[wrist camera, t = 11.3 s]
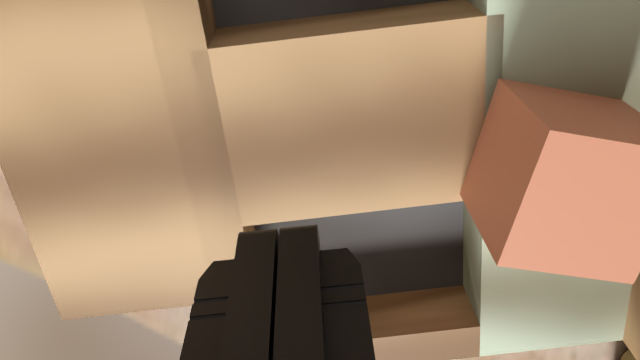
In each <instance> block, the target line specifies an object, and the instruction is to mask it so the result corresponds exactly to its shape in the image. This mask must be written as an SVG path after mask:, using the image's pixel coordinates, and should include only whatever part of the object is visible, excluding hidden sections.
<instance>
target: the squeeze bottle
mask: <svg viewBox="0 0 640 360" xmlns="http://www.w3.org/2000/svg"><path fill="white" fill-rule="evenodd" d="M620 360H636V359H635V357H634V356H633V354H632V353H631V352H630V350H629V349H628V350H627V351H626V352H625V353H624V354H623V355H622V357H621V359H620Z"/></svg>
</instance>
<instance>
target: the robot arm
mask: <svg viewBox="0 0 640 360" xmlns="http://www.w3.org/2000/svg"><path fill="white" fill-rule="evenodd" d="M180 360H376V359H375V352H374V346H373V339H372V333H371V326H370V320H369V313H368V307H367V301H366V294H365V287H364V281H363V274H362V268H361V263H360V262H359V261H358V260H357V259H356V257H355V256H354V255H353V254H352V253H351V252H350V251H349V249H348V248H341V249H331V250H321V249H320V241H319V232H318V226H317V225H307V226H297V227H287V228H280V230H279V233H278V230H277V229H268V230H258V231H248V232H239V234H238V239H237V245H236V252H235V258H234V259H231V260H220V261H213V262H212V263H211V265H210V266H209V267H208V268H207V270H206V271H205V272H204V273H203V274H202V276H201V277H200V278H199V279H198V283H197V287H196V292H195V296H194V304H192V309H191V313H190V321H189V322H188V326H187V330H186V334H185V339H184V343H183V347H182V352H181V356H180Z"/></svg>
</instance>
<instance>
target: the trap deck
mask: <svg viewBox="0 0 640 360" xmlns="http://www.w3.org/2000/svg"><path fill="white" fill-rule="evenodd" d="M498 78H500V79H506V80H511V81H517V82H523V83H529V84H534V85H540V86H546V87H551V88H557V89H563V90H568V91H574V92H580V93H585V94H591V95H597V96H602V97H608V98H614V99H620V100H623V101H624V102H626V103H627V104H628V105H630V106H631V107H633V108H634V109H636V110H637V111H638V112H640V0H0V166H1V169H2V171H3V174H4V176H5V179H6V181H7V184H8V186H9V189H10V191H11V194H12V196H13V199H14V201H15V204H16V206H17V209H18V211H19V214H20V216H21V219H22V221H23V224H24V226H25V229H26V231H27V234H28V236H29V239H30V241H31V244H32V246H33V249H34V251H35V254H36V256H37V259H38V261H39V264H40V266H41V269H42V271H43V274H44V276H45V279H46V281H47V284H48V286H49V289H50V291H51V294H52V296H53V299H54V301H55V304H56V306H57V309H58V311H59V314H60V316H61V319H62V320H67V319H76V318H84V317H93V316H102V315H110V314H119V313H128V312H137V311H146V310H155V309H163V308H172V307H181V306H190V305H192V304H194V296H195V292H196V287H197V283H198V279H199V278H200V277H201V276H202V274H203V273H204V272H205V271H206V270H207V268H208V267H209V266H210V265H211V263H212V262H213V261H220V260H231V259H234V258H235V252H236V245H237V239H238V234H239V232H248V231H258V230H268V229H277V230H278V233H279V230H280V228H287V227H297V226H307V225H317V226H318V232H319V241H320V249H321V250H331V249H341V248H348V249H349V251H350V252H351V253H352V254H353V255H354V256H355V257H356V259H357V260H358V261H359V262H360V263H361V268H362V274H363V281H364V287H365V294H366V301H367V307H368V313H369V320H370V326H371V333H372V339H373V346H374V352H375V359H376V360H452V359H461V358H470V357H479V356H487V355H496V354H505V353H514V352H523V351H532V350H541V349H550V348H559V347H568V346H577V345H585V344H594V343H603V342H612V341H621V340H623V342H624V343H625V344H626V346H627V347H628V349H629V350H630V352H631V353H632V354H633V356H634V357H635V359H636V360H640V273H639V275H638V277H637V278H636V280H635V282H634V284H627V283H619V282H612V281H605V280H597V279H590V278H582V277H575V276H568V275H560V274H553V273H545V272H538V271H530V270H523V269H516V268H508V267H501V266H497V265H496V263H495V261H494V259H493V258H492V256H491V254H490V252H489V250H488V248H487V246H486V244H485V242H484V240H483V238H482V236H481V234H480V232H479V231H478V229H477V227H476V225H475V223H474V221H473V219H472V217H471V215H470V213H469V211H468V209H467V207H466V205H465V204H464V202H463V200H462V198H461V196H460V192H461V189H462V186H463V183H464V180H465V177H466V174H467V171H468V168H469V165H470V162H471V159H472V156H473V153H474V150H475V147H476V144H477V141H478V138H479V135H480V132H481V129H482V126H483V123H484V120H485V117H486V114H487V111H488V108H489V105H490V102H491V99H492V96H493V93H494V90H495V87H496V84H497V81H498Z"/></svg>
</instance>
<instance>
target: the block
mask: <svg viewBox="0 0 640 360" xmlns="http://www.w3.org/2000/svg"><path fill="white" fill-rule="evenodd" d="M460 196H461V198H462V200H463V202H464V204H465V205H466V207H467V209H468V211H469V213H470V215H471V217H472V219H473V221H474V223H475V225H476V227H477V229H478V231H479V232H480V234H481V236H482V238H483V240H484V242H485V244H486V246H487V248H488V250H489V252H490V254H491V256H492V258H493V259H494V261H495V263H496V265H497V266H501V267H508V268H516V269H523V270H530V271H538V272H545V273H553V274H560V275H568V276H575V277H582V278H590V279H597V280H605V281H612V282H619V283H627V284H634V282H635V280H636V278H637V277H638V275H639V273H640V112H638V111H637V110H636V109H634V108H633V107H631V106H630V105H628V104H627V103H626V102H624V101H623V100H620V99H614V98H608V97H602V96H597V95H591V94H585V93H580V92H574V91H568V90H563V89H557V88H551V87H546V86H540V85H534V84H529V83H523V82H517V81H511V80H506V79H500V78H498V81H497V84H496V87H495V90H494V93H493V96H492V99H491V102H490V105H489V108H488V111H487V114H486V117H485V120H484V123H483V126H482V129H481V132H480V135H479V138H478V141H477V144H476V147H475V150H474V153H473V156H472V159H471V162H470V165H469V168H468V171H467V174H466V177H465V180H464V183H463V186H462V189H461V192H460Z"/></svg>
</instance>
